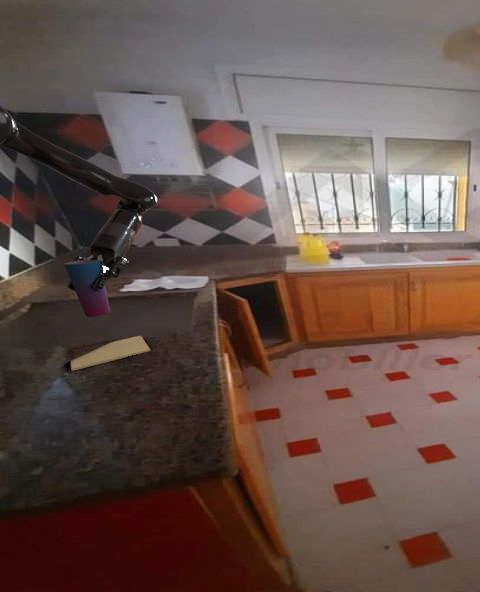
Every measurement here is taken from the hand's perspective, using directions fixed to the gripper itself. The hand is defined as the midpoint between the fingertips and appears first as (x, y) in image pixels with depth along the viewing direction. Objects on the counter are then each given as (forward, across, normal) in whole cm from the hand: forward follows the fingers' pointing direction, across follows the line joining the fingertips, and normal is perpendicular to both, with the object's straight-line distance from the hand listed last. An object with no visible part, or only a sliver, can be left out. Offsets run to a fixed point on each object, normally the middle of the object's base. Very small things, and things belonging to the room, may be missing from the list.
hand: (83, 289), depth 86 cm
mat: (+13, 0, +16) cm, 20 cm away
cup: (+4, 0, +7) cm, 8 cm away
